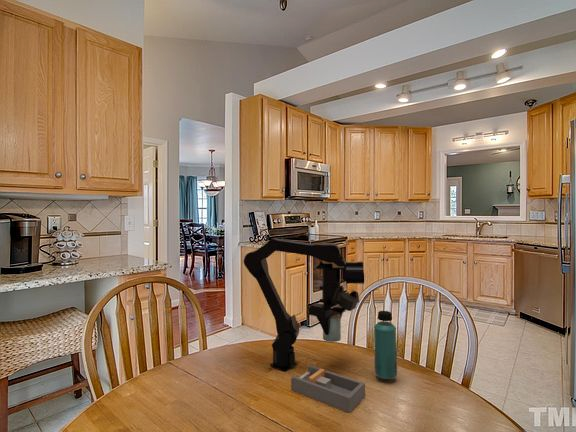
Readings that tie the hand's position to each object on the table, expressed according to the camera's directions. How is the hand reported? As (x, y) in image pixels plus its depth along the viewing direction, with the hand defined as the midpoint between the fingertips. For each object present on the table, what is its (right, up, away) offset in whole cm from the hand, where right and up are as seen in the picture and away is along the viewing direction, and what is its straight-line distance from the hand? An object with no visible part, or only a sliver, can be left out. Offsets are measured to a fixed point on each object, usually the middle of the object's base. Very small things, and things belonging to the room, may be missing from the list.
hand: (331, 332), depth 104 cm
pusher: (-5, -11, -13) cm, 17 cm away
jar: (0, -2, 0) cm, 2 cm away
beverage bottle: (+15, -12, -6) cm, 20 cm away
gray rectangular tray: (-3, -12, -14) cm, 19 cm away
